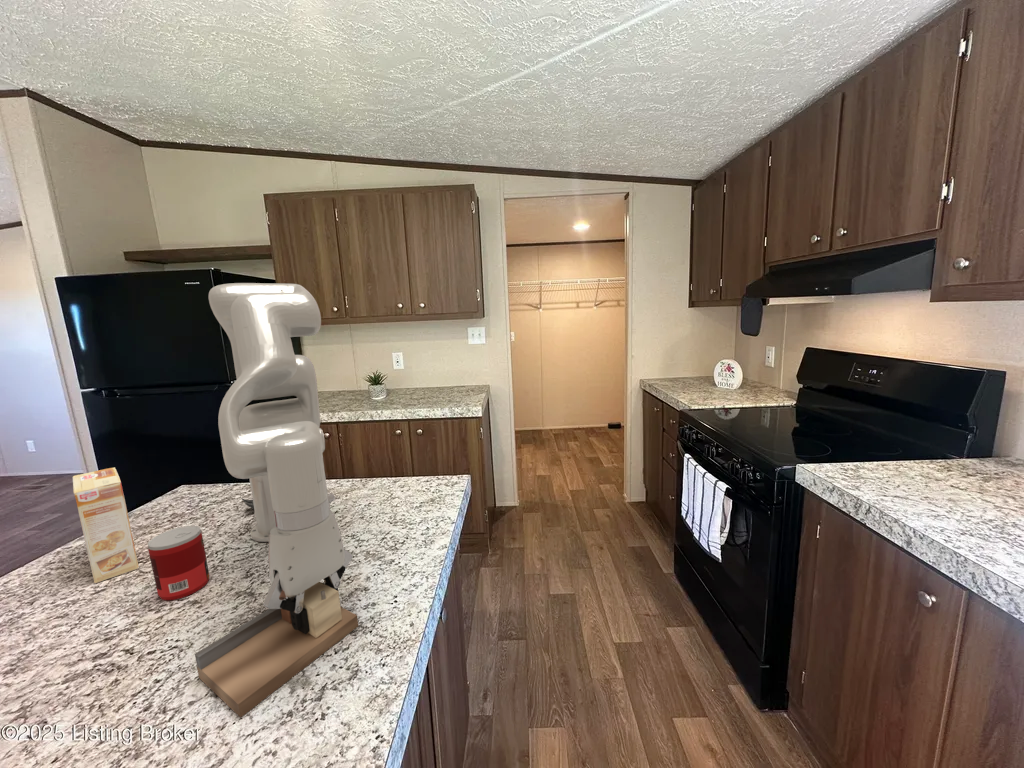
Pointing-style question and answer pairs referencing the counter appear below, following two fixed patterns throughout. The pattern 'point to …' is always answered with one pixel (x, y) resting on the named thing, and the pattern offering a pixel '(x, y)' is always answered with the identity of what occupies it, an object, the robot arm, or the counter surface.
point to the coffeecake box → (105, 523)
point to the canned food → (178, 562)
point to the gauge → (318, 608)
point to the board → (263, 657)
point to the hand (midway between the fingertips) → (317, 618)
